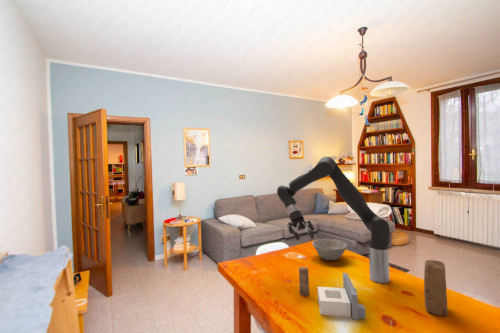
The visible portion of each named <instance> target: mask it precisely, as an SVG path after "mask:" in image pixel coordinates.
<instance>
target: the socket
mask: <svg viewBox="0 0 500 333" xmlns="http://www.w3.org/2000/svg"><path fill="white" fill-rule="evenodd" d="M317 301H318V307H319V314H320V315H325V316H332V317H333V316H335V317H336V316H337V317H345V318H346V317H348V318H352V316H351V303H350V300H349V298H348V295H347V293H346V290H345V288H343V287H332V286H331V287H330V286H329V287H328V286H317Z"/></svg>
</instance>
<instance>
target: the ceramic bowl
mask: <svg viewBox="0 0 500 333" xmlns="http://www.w3.org/2000/svg"><path fill="white" fill-rule="evenodd" d="M311 243H312V246H313V247H314V249H315V251H316V253H317V254H318V256H319V257H320V258H322V259H323V260H325V261H337V260H339V259H340V258H341V257H342V255H344V253H345V251H346V249H347V248H348V244H347V242H345V241H343V240H339V239H334V238H333V239H332V238H319V239H315V240H313V241H312V242H311Z"/></svg>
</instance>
